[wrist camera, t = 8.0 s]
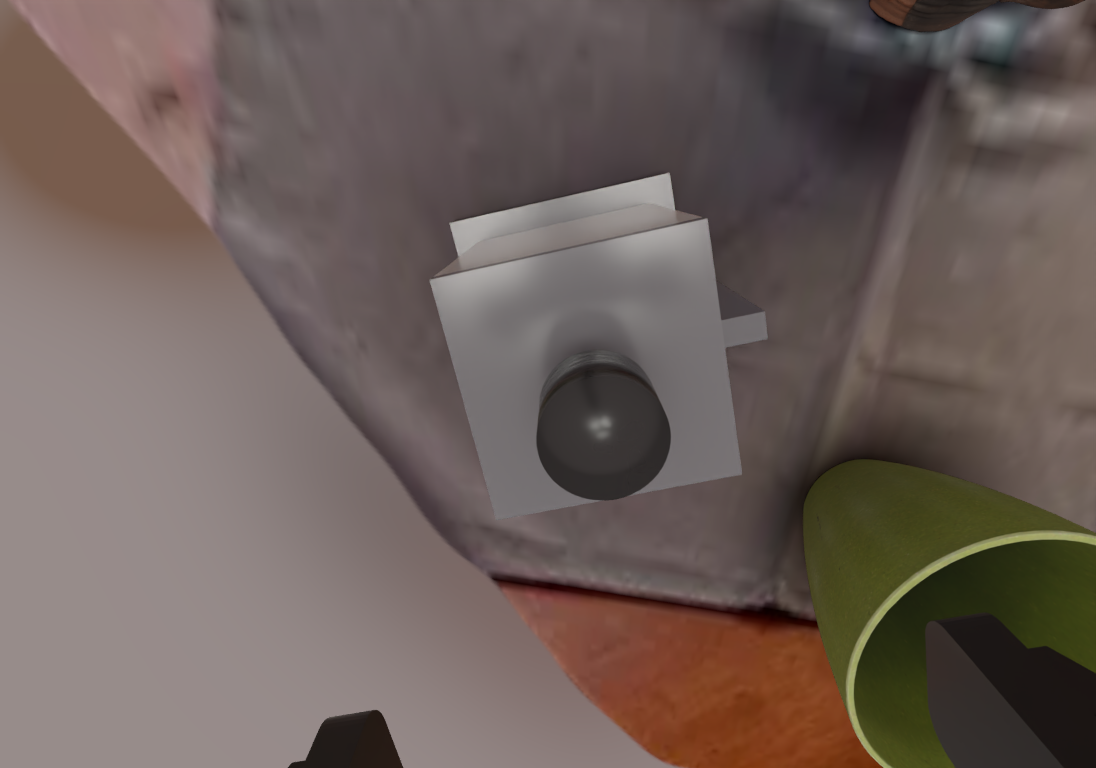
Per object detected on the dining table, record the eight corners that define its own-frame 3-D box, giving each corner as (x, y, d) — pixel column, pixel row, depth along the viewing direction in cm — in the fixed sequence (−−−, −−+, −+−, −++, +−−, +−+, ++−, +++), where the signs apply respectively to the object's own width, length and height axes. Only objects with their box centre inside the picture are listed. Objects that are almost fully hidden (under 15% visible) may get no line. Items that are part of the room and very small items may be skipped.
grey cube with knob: (453, 221, 38) (381, 250, 23) (682, 169, 37) (771, 161, 21) (503, 416, 42) (472, 554, 26) (711, 374, 41) (805, 494, 25)
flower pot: (734, 428, 42) (833, 569, 27) (962, 382, 41) (1202, 503, 26) (761, 610, 46) (859, 819, 31) (967, 573, 45) (1174, 773, 30)
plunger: (498, 259, 36) (437, 340, 18) (637, 228, 35) (720, 280, 17) (529, 389, 38) (504, 576, 20) (660, 363, 37) (753, 531, 19)
